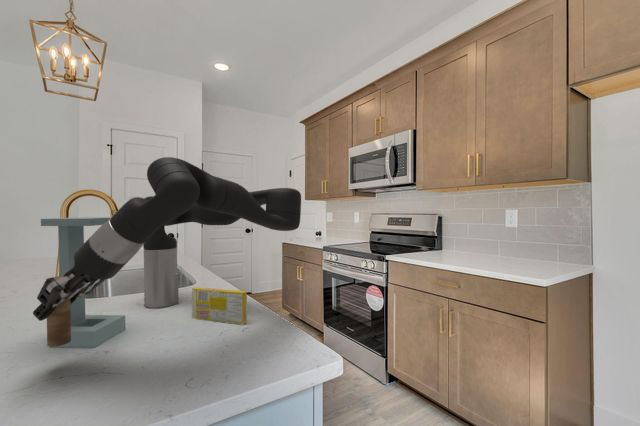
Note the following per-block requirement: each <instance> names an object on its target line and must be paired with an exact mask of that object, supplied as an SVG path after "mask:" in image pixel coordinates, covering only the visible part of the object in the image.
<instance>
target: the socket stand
mask: <svg viewBox="0 0 640 426" xmlns="http://www.w3.org/2000/svg"><path fill="white" fill-rule="evenodd" d="M111 217H112V216H108V217H107V216H103V217H102V216H99V217H98V216H97V217H96V216H94V217H93V216H89V217H87V216H86V217H85V216H83V217H59V218H56V217H54V218H40V227H57V229H58V230H57V231H58V235H57V236H58V276H64V274H65V273H66V272H67V271H68V270H69V269H70V268H72V267H74V254H75V253H76V251H77V250H78V249H79V248H80V247H81V246H82V245H83V244H84V243H85V230H84V228H85V227H94V226H102V225H103V224H104V223H106V222H107V221H108V220H109V219H110V218H111ZM125 330H126V315H124V314H121V315H120V314H86V294H85V293H84V294H83V296H82V297H81V298H79V299H77V300H75V301H74V302H73V303H72V304H71V341H70V342H69V343H67V344H64V345H61V346H55V347H54V348H79V349H81V348H88V349H89V348H91V349H94V348H97V347H99V346H101V344H104V343H105V342H106V341H108V340H110V339H112V338H113V337H115V336H117V335H118V334H120V333H122V332H124V331H125Z"/></svg>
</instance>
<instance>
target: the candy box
mask: <svg viewBox="0 0 640 426" xmlns="http://www.w3.org/2000/svg"><path fill="white" fill-rule="evenodd" d="M191 291H192V292H191V319H194V318H195V319H197V320H201V319H204V320H203V321H209V320H213V321H212V322H217V321H221V322H220V323H224V322H228V323H227V324H232V323H235V324H234V325H240V324H244V325H245V324H247V323H246V322H247V321H248V320H247V318H248V316H247V315H248V314H247V312H248V310H247V308H248V307H247V304H248V302H247V301H248V300H247V299H248V297H247V296H248V293H247V292H248V291H244V290H234V289H233V290H232V289H223V288H222V289H221V288H211V287H210V288H209V287H199V286H195V287H192V290H191Z"/></svg>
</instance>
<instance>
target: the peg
mask: <svg viewBox="0 0 640 426" xmlns="http://www.w3.org/2000/svg"><path fill="white" fill-rule="evenodd" d="M62 277H63V276H59V275H58V276H52V277H48V278H45V281H46V280H48V279H50V278H54V279H55V280H59V279H61V278H62ZM69 292H70V291H69ZM60 297H61V295H59V297H58V299H59V298H60ZM70 341H71V302H70V298H69V299H65V300H64V301H63V302H62V303H61V304H60V305H59V306H58V307H57V308H56V309H55V310H54V311H53V312H52V313H51V314H50V315H49V316H48V317H47V318H46V346H47V347H49V348H56V347H55V346H61V345H64V344H67V343H69V342H70Z"/></svg>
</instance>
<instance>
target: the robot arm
mask: <svg viewBox="0 0 640 426" xmlns="http://www.w3.org/2000/svg"><path fill="white" fill-rule="evenodd" d="M146 177H147V181H148V183H149V185H150V187H151V188H152V190H153V192H154V195H151V196H150V195H149V196H146V197H145V198H144V197H139V196H138V197H132V198H130V199H128V200H127V201H126V202H125V203H124V204H123V205H122V206H121V207H120V208H119V209H118V210H117V211H116V212H115V213H114V215H112V216H110V217H111V218H110V219H109V220H108V221H107V222H106V223H104V224H103V225H100V227H99V228H97V230H95V232H93V234H92V235H90V236H89V238H88V239H87V240H86V241H84V244H83V245H82V246H81V247H80V248H79V249H78V250H77V251H76V253H75V254H74V267H72V268H70V269H69V270H68V271H67V272H66V273H65V274H64V276H63V277H62V278H61V279H59V280H55V279H54V278H51V277H49V278H50V279H48V280H46V279H45V281H44V283H43V286H42V287H41V289H40V291H39V293H38V295H37V297H36V299H37V300H38V301H39V302H40V304H39V305H38V306H37V307H36V308H35V309H34V311H32V314H33V316H34V317H35V318H36V319H37V320H38V321H44V320H47V317H48V316H49V315H50V314H51V313H52V312H53V311H54V310H55V309H56V308H57V307H58V306H59V305H60V304H61V303H62V302H63V301H64V300H65V299H69V298H70V302H71V304H72V303H73V302H74V301H75V300H77V299H79V298H81V297H82V296H83V294H84V293H85V296H86V295H89V294H90V293H92V292H93V291H94V290H95V289H96V288H97V287H99V286H100V285H101V284H103V283H104V282H105V281H106V280H110V279H112V278H113V277H115V276H116V275H117V274H118V273H119V272H120V270H122V269H123V268H124V267H125V266H126V265H127V264H128V263H129V262H130V260H131V259H133V258H134V256H135V255H136V254H137V253H138V252H139V251H140V250H141V248H142V247H143V288H144V289H143V291H144V292H143V293H144V296H143V297H144V298H143V301H144V307H145V308H150V309H155V308H156V309H157V308H166V307H170V306H173V305H176V304H180V298H179V297H180V296H179V272H178V239H177V238H175V237H172V236H170V235H169V234H167V232H166V229H165V227H169V226H174V225H179V224H180V225H181V224H186V223H196V224H200V225H203V226H204V225H205V226H228V225H229V226H230V225H232V224H234V223H235V222H237V221H239V220H241V219H243V220H246V221H248V222H250V223H253V224H256V225H258V226H261V227H264V228H265V229H266V228H267V229H269V230H273V231H280V232H281V231H282V232H291V231H296V230H298V228H299V226H300V223H301V213H302V212H301V211H302V194H301V192H300V191H299V190H298V189H295V188H291V187H278V188H270V189H263V190H256V191H255V190H254V191H249V190H247V189H246V188H245V187H244V186H242V185H241V184H239V183H236V182H235V181H232V180H228V179H225V178H221V177H218V176H215V175H212V174H210V173H209V172H207V171H205V170H204V169H201V168H200V167H198V166H196V165H194V164H192V163H190V162H188V161H186V160H184V159H180V158H177V157H173V156H172V157H170V156H167V157H160V158H157V159H155V160H153V161H152V162H151V163H150V164H149V166H148V168H147V170H146ZM264 205H265V208H263V207H262V206H264ZM69 291H70V292H69ZM59 295H61V297H60V298H59V299H58V297H59Z"/></svg>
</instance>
